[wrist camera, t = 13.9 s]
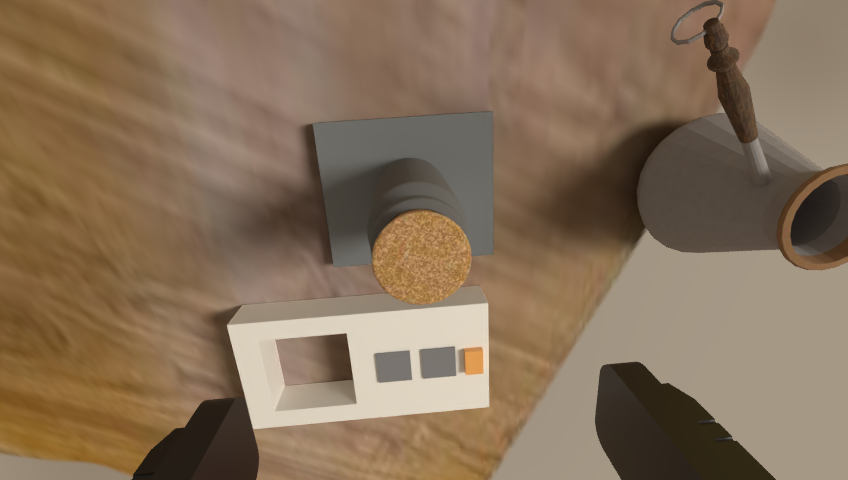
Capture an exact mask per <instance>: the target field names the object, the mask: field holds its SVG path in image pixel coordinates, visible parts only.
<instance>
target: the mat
mask: <svg viewBox="0 0 848 480" xmlns="http://www.w3.org/2000/svg"><path fill="white" fill-rule="evenodd" d="M313 130H314V136H315V143H316V150H317V157H318V164H319V170H320V177H321V184H322V191H323V197H324V204H325V211H326V218H327V225H328V231H329V238H330V245H331V252H332V258H333V265H334V267H342V266H354V265H367V264H372V256H371V251H370V244H369V241H368V235H367V223H368V217H369V212H370V208H371V204H372V199H373V196H374V192H375V189H376V185H377V182H378V180H379V178H380V175H381V174H382V173H383V171H384V170H385V169H386V168H387V167H388V166H389V165H390V164H392V163H394V162H396V161H398V160H401V159H404V158H418V159H422V160H425V161H427V162H429V163H430V164H432V165H433V166H435V167H436V168H437V169H438V171H439V172H440V173H441V174H442V176H443V177H444V179H445V180H446V182H447V183H448V185H449V186H450V188H451V189H452V191H453V192H454V194H455V196H456V197H457V199H458V201H459V203H460V204H461V206H462V208H463V210H464V213H465V217H466V222H467V233H468V237H469V244H470V247H471V256H479V255H492V254H493V111H486V112H471V113H456V114H441V115H426V116H410V117H395V118H380V119H365V120H350V121H335V122H320V123H313Z"/></svg>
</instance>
